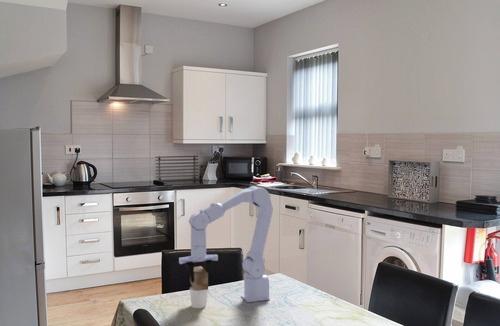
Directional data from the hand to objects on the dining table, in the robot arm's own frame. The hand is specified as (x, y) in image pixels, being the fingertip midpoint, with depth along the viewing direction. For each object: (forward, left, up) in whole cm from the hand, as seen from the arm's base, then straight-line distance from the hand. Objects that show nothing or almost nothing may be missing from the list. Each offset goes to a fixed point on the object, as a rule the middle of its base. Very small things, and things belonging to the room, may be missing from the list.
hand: (198, 280), depth 168 cm
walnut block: (0, 0, -2) cm, 2 cm away
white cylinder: (0, 0, -10) cm, 10 cm away
